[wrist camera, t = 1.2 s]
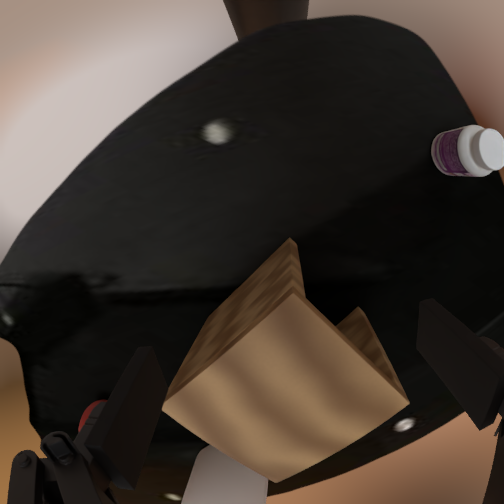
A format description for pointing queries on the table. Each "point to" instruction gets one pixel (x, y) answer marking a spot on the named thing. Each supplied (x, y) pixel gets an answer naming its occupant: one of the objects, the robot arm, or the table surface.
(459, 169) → the pill bottle
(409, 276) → the table surface
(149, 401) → the robot arm
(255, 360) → the cubby
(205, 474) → the white jar
